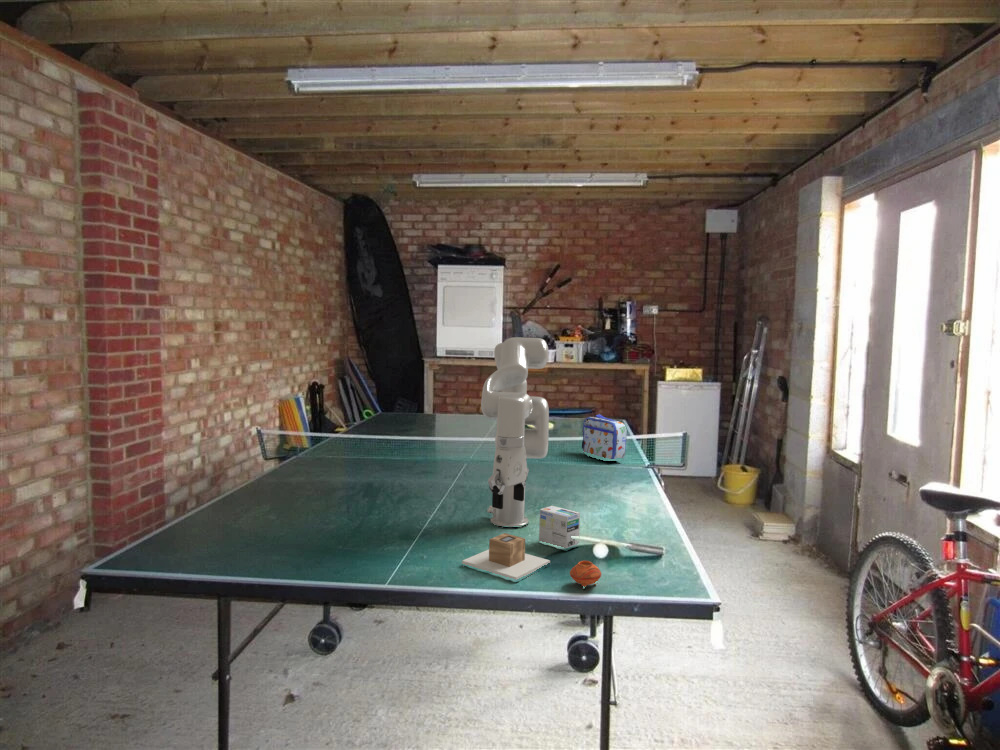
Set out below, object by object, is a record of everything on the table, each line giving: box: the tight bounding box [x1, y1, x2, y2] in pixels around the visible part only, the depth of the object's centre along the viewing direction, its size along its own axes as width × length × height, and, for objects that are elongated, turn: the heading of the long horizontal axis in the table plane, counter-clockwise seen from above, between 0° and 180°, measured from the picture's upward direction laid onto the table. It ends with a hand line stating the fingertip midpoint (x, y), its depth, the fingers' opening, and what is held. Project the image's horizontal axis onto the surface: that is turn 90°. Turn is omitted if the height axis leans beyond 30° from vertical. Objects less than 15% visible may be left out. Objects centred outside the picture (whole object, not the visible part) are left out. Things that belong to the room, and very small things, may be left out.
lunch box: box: [581, 414, 628, 459], centre depth 325 cm, size 28×10×22 cm, turn 30°
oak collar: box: [488, 532, 526, 567], centre depth 177 cm, size 7×7×6 cm
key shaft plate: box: [461, 537, 551, 580], centre depth 177 cm, size 18×16×8 cm
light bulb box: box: [538, 505, 581, 548], centre depth 194 cm, size 11×7×11 cm, turn 48°
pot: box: [569, 560, 602, 587], centre depth 165 cm, size 8×8×7 cm
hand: (508, 504), depth 176 cm, fingers open, 9 cm apart
